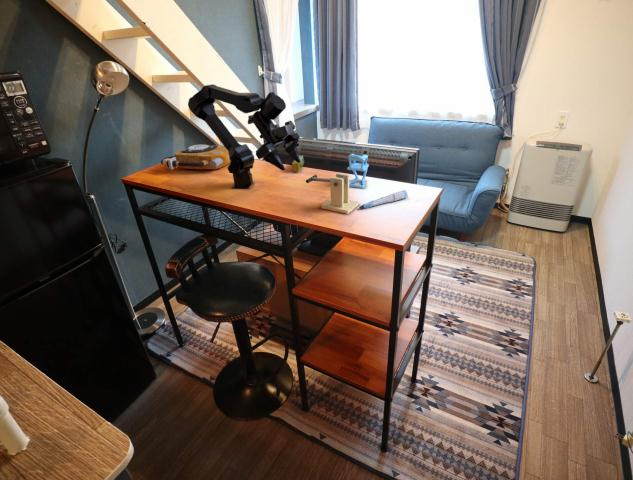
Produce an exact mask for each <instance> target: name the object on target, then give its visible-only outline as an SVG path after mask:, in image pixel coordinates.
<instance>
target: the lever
mask: <svg viewBox="0 0 633 480" xmlns="http://www.w3.org/2000/svg"><path fill="white" fill-rule="evenodd" d="M337 178H343V179H344V185H345V177H337ZM311 182H321V183H330V177H329V178H325V177H318V175H317V174H314V175H312V176H310V177H308V178H307V179H306V180H305V183H306V184H309V183H311Z"/></svg>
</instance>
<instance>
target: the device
mask: <svg viewBox="0 0 633 480" xmlns="http://www.w3.org/2000/svg"><path fill="white" fill-rule="evenodd" d="M230 163H231V161H230V159H229V153H228V150H227V149H226V148H225V146H224V145H223V144H222V145H219V144H210V145H209V144H194V145H190V146H189V147H187V148H185V149H182V150H180V151H178V152H176V153H174V155H172V156H171V155H170V156H166V157H165V158H162V159H160V165H162V166H163V167H165V168H167V169H169V170H175V169H176V168H177V169H185V170H186V169H187V170H217V169H220V168H223V167H225V166H227V165H230Z"/></svg>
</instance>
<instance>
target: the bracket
mask: <svg viewBox="0 0 633 480" xmlns="http://www.w3.org/2000/svg"><path fill="white" fill-rule="evenodd" d="M337 177H345V185H344V179H343V178H337ZM329 179H330V182H329V185H330V186H329V187H330V188H329V190H330V197H329V198H328V199H327V200H326V201H325V202H323V203H322V204H321V205H320V208H321V209H322V210H323V209H324V210H328V211H332V212H336V213H342V214H346V215H349V214H350V213H351V212H352V211H353V210H355V209H356V208H357V207H358V206H359V201H356V200H352V199H350V187H349V181H350V174H347V173H341V172H336V174H335V176H331V177H329Z"/></svg>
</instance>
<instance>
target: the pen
mask: <svg viewBox="0 0 633 480" xmlns="http://www.w3.org/2000/svg"><path fill="white" fill-rule="evenodd" d="M408 197H409V195H408V190H406V189H405V190H400V191H397V192H393V193H390V194H388V195H385V196H381V197H380V198H377V199H374V200H370V201H368V202H365V203H364V204H362V205H360V206H359V207H358V208H359V209H366V208H371V207H375V206H379V205H382V204H385V203H393V202H397V201H400V200H403V199H406V198H408Z"/></svg>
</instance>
